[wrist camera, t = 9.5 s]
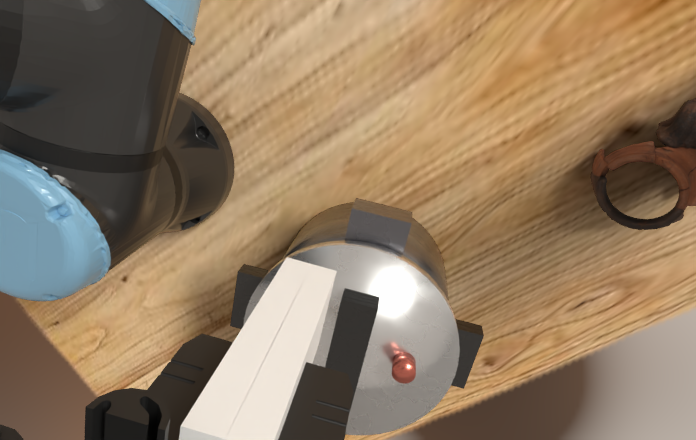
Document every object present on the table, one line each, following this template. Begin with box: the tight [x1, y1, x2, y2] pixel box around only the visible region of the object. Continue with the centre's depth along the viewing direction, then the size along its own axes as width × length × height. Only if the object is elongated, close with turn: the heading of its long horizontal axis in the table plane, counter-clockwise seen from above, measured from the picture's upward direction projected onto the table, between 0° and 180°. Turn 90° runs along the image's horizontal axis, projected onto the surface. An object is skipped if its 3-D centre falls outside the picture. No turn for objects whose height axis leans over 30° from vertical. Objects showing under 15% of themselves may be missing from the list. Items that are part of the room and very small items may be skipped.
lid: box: [243, 240, 460, 435], centre depth 43 cm, size 19×26×3 cm
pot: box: [230, 198, 484, 388], centre depth 48 cm, size 23×21×12 cm
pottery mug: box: [591, 98, 696, 230], centre depth 43 cm, size 12×10×8 cm
